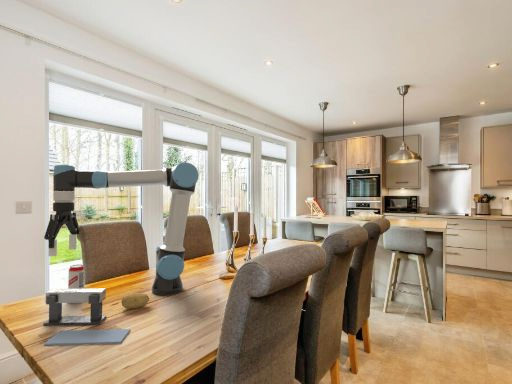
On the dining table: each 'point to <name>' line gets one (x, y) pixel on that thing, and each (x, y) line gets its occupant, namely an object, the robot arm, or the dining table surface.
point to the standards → (58, 319)
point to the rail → (76, 295)
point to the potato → (134, 300)
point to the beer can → (76, 277)
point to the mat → (88, 337)
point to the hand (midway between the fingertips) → (63, 252)
